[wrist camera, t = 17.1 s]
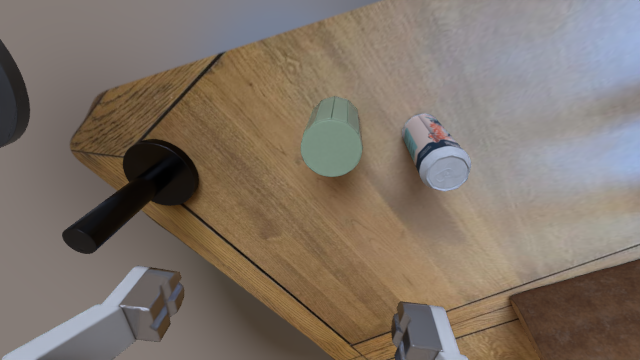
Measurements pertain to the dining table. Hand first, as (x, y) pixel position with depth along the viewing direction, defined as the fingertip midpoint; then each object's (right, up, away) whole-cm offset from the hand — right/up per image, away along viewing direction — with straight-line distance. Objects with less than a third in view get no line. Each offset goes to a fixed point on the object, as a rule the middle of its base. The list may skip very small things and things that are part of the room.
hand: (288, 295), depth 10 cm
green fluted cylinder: (+3, +12, +27) cm, 30 cm away
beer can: (+14, +11, +26) cm, 32 cm away
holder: (-23, +6, +33) cm, 41 cm away
